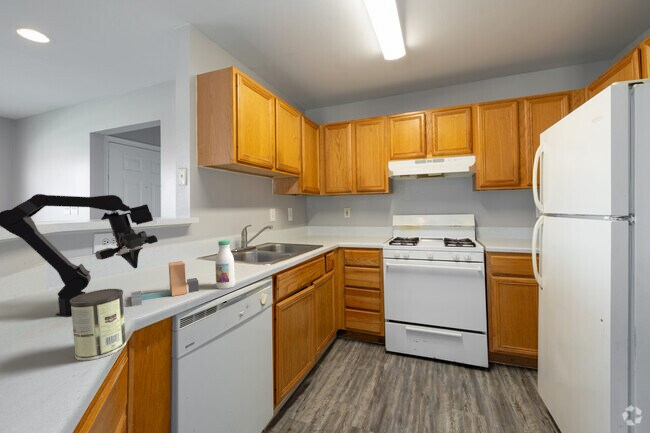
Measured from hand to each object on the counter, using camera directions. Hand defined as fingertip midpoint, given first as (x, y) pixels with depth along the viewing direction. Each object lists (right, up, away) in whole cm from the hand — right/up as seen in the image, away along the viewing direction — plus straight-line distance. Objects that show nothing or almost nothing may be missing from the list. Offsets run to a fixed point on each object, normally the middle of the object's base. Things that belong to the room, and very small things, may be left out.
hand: (135, 268), depth 105 cm
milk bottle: (+28, -11, +16) cm, 34 cm away
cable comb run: (+8, -12, +6) cm, 16 cm away
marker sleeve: (+12, -12, +8) cm, 18 cm away
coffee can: (+15, -14, -34) cm, 40 cm away
